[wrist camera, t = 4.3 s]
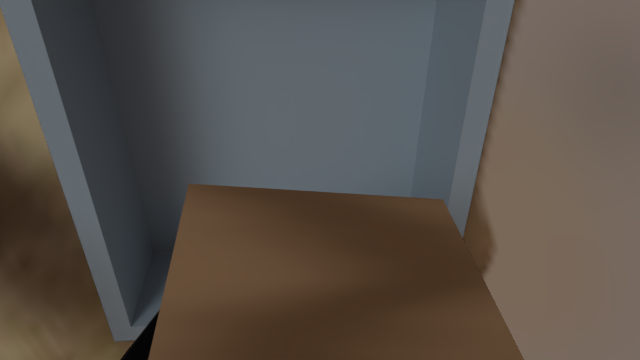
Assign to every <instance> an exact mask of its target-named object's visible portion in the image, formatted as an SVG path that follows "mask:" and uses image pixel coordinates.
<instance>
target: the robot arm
mask: <svg viewBox="0 0 640 360" xmlns="http://www.w3.org/2000/svg"><path fill="white" fill-rule="evenodd" d="M159 311H160V310H159ZM159 311H158V312H157V313H156V314H155V316H154V317H153V318H152V320H151V321H150V322H149V323H148V325H147V326H146V327H145V329H144V330H143V331H142V332H141V334H140V335H139V336H138V338H137V339H136V340H135V341H134V343H133V344H132V345H131V347H130V348H129V349H128V351H127V352H126V353H125V354H124V356H123V357H122V358H121V360H148V358H149V354H150V350H151V345H152V341H153V337H154V332H155V328H156V324H157V319H158V315H159Z"/></svg>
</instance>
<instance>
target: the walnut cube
mask: <svg viewBox="0 0 640 360" xmlns="http://www.w3.org/2000/svg"><path fill="white" fill-rule="evenodd" d="M148 360H524V359H523V357H522V355H521V353H520V351H519V349H518V347H517V345H516V343H515V341H514V339H513V337H512V335H511V333H510V331H509V329H508V327H507V325H506V323H505V321H504V319H503V317H502V316H501V313H500V311H499V309H498V307H497V306H496V304H495V301H494V299H493V298H492V296H491V294H490V292H489V290H488V288H487V286H486V284H485V282H484V280H483V278H482V276H481V274H480V272H479V270H478V268H477V266H476V264H475V262H474V260H473V258H472V256H471V254H470V252H469V250H468V248H467V246H466V244H465V242H464V240H463V238H462V236H461V234H460V232H459V230H458V228H457V226H456V224H455V222H454V220H453V218H452V216H451V214H450V212H449V210H448V208H447V206H446V205H445V203H444V201H443V199H430V198H414V197H398V196H382V195H366V194H349V193H333V192H317V191H301V190H285V189H269V188H252V187H236V186H220V185H204V184H188V189H187V193H186V197H185V202H184V206H183V210H182V215H181V219H180V223H179V228H178V232H177V236H176V241H175V245H174V250H173V254H172V258H171V263H170V267H169V271H168V276H167V280H166V284H165V289H164V293H163V297H162V302H161V306H160V311H159V315H158V319H157V324H156V328H155V332H154V337H153V341H152V345H151V350H150V354H149V358H148Z"/></svg>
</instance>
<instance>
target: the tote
mask: <svg viewBox="0 0 640 360" xmlns="http://www.w3.org/2000/svg"><path fill="white" fill-rule="evenodd" d="M514 1H515V0H0V7H1V10H2V13H3V16H4V18H5V21H6V24H7V27H8V30H9V33H10V36H11V39H12V42H13V45H14V48H15V51H16V54H17V57H18V60H19V63H20V65H21V68H22V71H23V74H24V77H25V80H26V83H27V86H28V89H29V92H30V95H31V98H32V101H33V104H34V107H35V110H36V112H37V115H38V118H39V121H40V124H41V127H42V130H43V133H44V136H45V139H46V142H47V145H48V148H49V151H50V154H51V156H52V159H53V162H54V165H55V168H56V171H57V174H58V177H59V180H60V183H61V186H62V189H63V192H64V195H65V198H66V201H67V203H68V206H69V209H70V212H71V215H72V218H73V221H74V224H75V227H76V230H77V233H78V236H79V239H80V242H81V245H82V247H83V250H84V253H85V256H86V259H87V262H88V265H89V268H90V271H91V274H92V277H93V280H94V283H95V286H96V289H97V292H98V294H99V297H100V300H101V303H102V306H103V309H104V312H105V315H106V318H107V321H108V324H109V327H110V330H111V333H112V336H113V339H114V341H132V340H136V339H137V338H138V336H139V335H140V334H141V332H142V331H143V330H144V329H145V327H146V326H147V325H148V323H149V322H150V321H151V320H152V318H153V317H154V316H155V314H156V313H157V312H158V311H159V310H160V306H161V302H162V297H163V293H164V289H165V284H166V280H167V276H168V271H169V267H170V263H171V258H172V254H173V250H174V245H175V241H176V236H177V232H178V228H179V223H180V219H181V215H182V210H183V206H184V202H185V197H186V193H187V189H188V184H204V185H220V186H236V187H252V188H269V189H285V190H301V191H317V192H333V193H349V194H366V195H382V196H398V197H414V198H430V199H443V201H444V203H445V205H446V206H447V208H448V210H449V212H450V214H451V216H452V218H453V220H454V222H455V224H456V226H457V228H458V230H459V232H460V234H461V236H462V238H463V236H464V231H465V227H466V222H467V217H468V213H469V208H470V204H471V199H472V194H473V190H474V185H475V180H476V176H477V171H478V167H479V162H480V157H481V153H482V148H483V144H484V139H485V134H486V130H487V125H488V121H489V116H490V111H491V107H492V102H493V98H494V93H495V88H496V84H497V79H498V75H499V70H500V65H501V61H502V56H503V51H504V47H505V42H506V38H507V33H508V28H509V24H510V19H511V15H512V10H513V5H514Z"/></svg>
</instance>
